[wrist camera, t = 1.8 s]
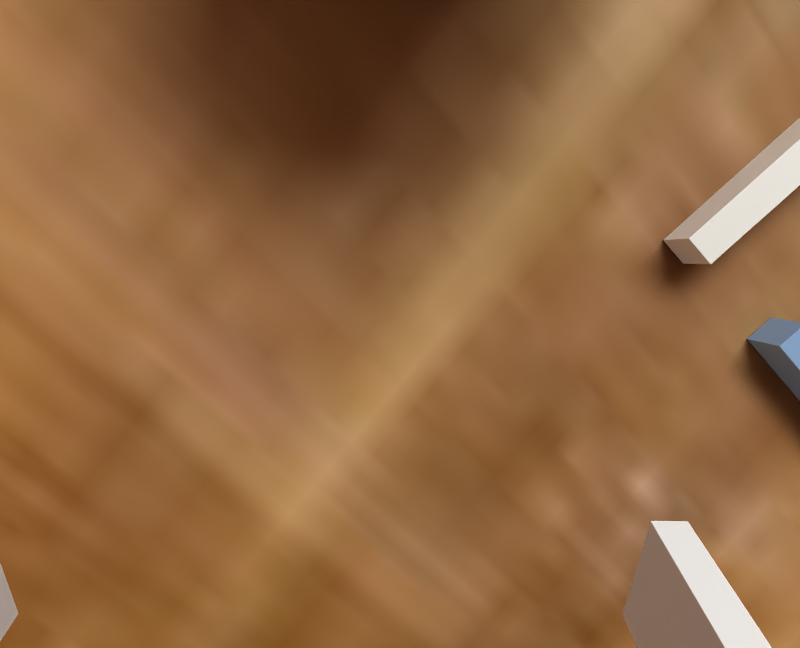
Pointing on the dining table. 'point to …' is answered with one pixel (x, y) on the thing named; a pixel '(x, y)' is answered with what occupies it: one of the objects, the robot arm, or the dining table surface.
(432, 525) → the dining table surface
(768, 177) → the duct rack
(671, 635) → the robot arm
